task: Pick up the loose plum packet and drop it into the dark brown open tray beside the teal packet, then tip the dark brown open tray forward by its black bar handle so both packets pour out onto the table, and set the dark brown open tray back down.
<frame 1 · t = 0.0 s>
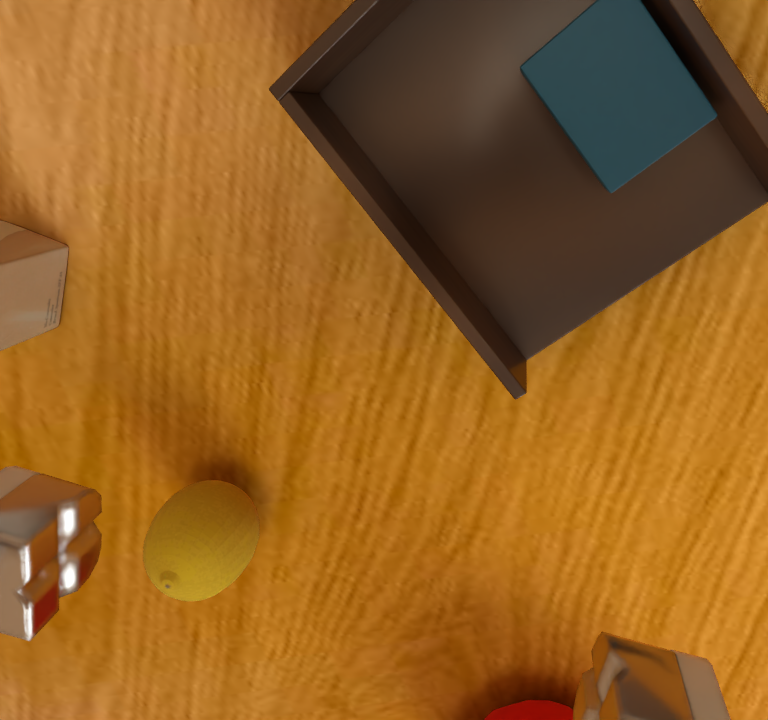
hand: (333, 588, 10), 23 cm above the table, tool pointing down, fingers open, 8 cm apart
lemon: (236, 495, 39), on the table
box: (33, 271, 37), on the table
dark brown open tray: (490, 84, 24), point 4 cm above the table, hinge at 0.0°, touching teal packet
teal packet: (609, 92, 27), point 1 cm above the table, touching dark brown open tray
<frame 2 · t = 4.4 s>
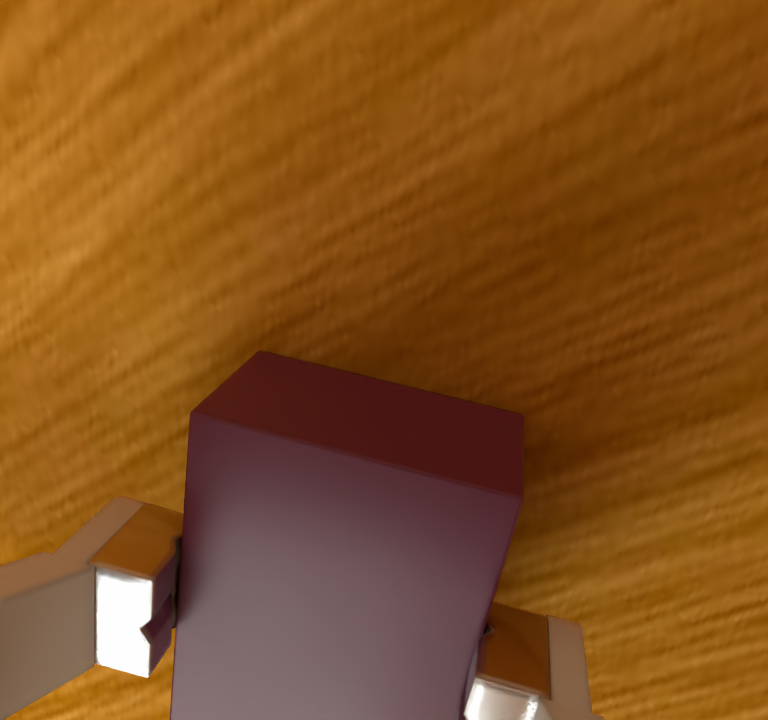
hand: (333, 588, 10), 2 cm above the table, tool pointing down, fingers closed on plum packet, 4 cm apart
plum packet: (359, 529, 12), on the table, touching gripper
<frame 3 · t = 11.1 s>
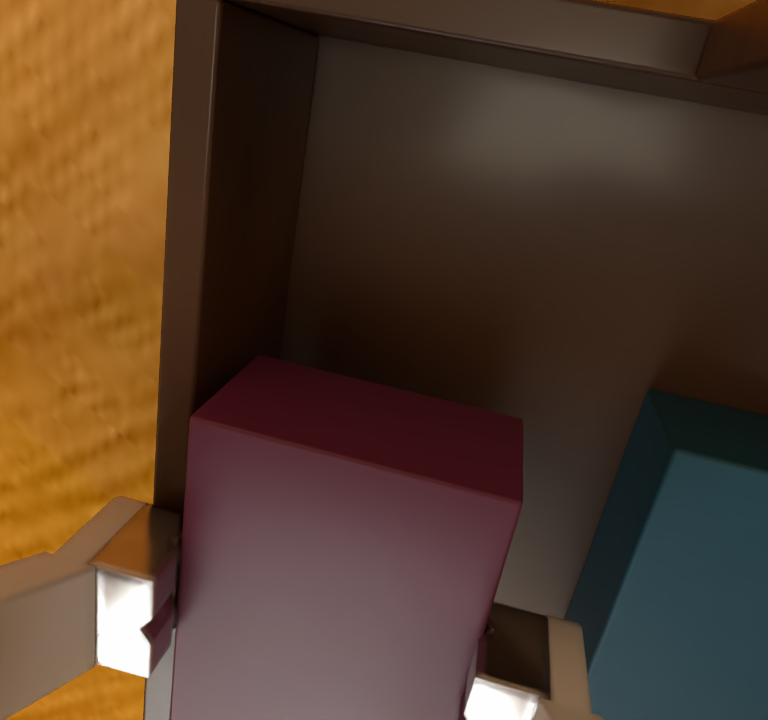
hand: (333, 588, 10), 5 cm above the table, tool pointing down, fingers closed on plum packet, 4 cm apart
plum packet: (359, 533, 12), point 3 cm above the table, touching gripper
dark brown open tray: (608, 445, 9), point 4 cm above the table, hinge at -0.1°, touching gripper, teal packet
teal packet: (712, 546, 13), point 1 cm above the table, touching dark brown open tray
when the fingers open (6 cm above the table, at t = 19.3 s): plum packet drops 3 cm, resting on dark brown open tray.
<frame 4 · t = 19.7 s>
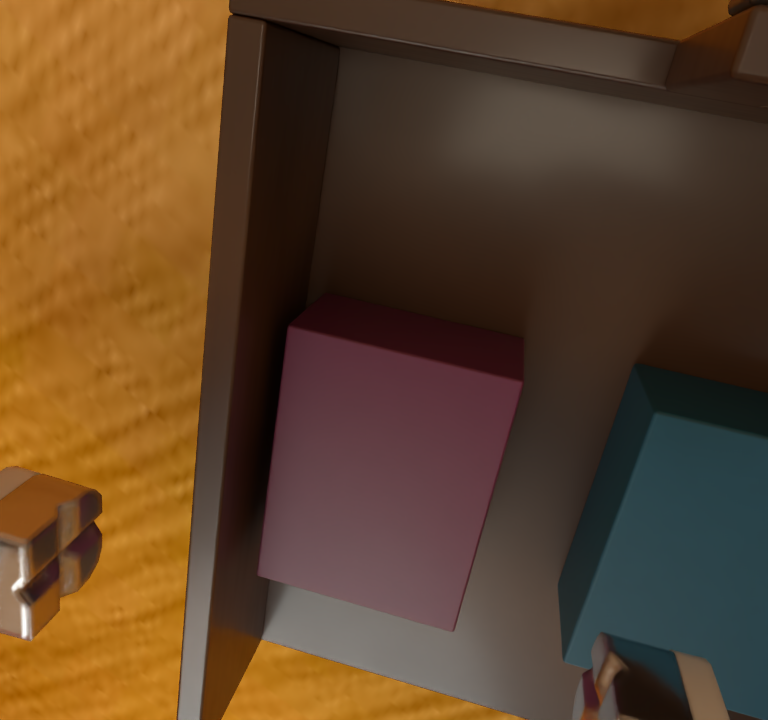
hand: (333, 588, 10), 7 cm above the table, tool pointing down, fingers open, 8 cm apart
plum packet: (398, 433, 15), point 1 cm above the table, touching dark brown open tray
dark brown open tray: (596, 405, 11), point 4 cm above the table, hinge at -0.2°, touching plum packet, teal packet
teal packet: (693, 507, 15), point 1 cm above the table, touching dark brown open tray
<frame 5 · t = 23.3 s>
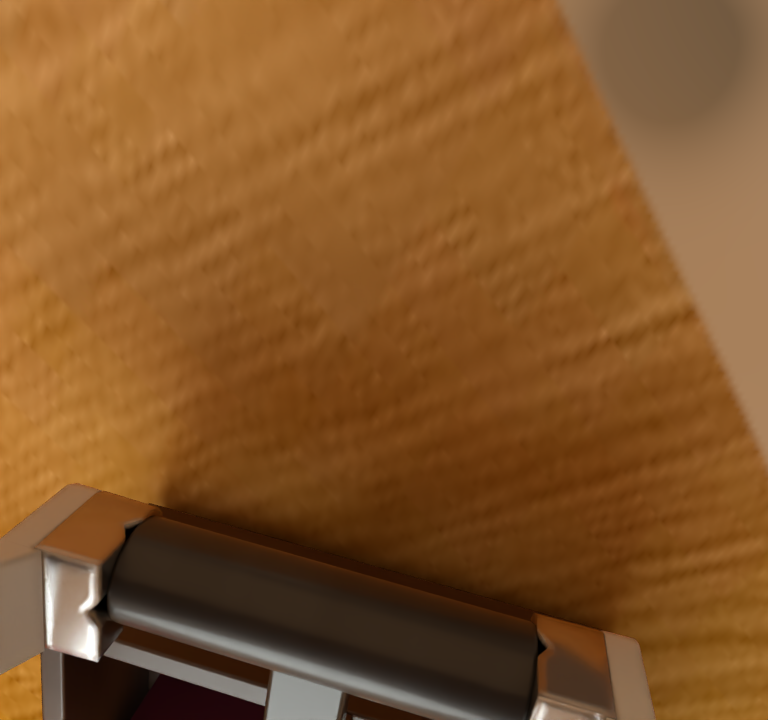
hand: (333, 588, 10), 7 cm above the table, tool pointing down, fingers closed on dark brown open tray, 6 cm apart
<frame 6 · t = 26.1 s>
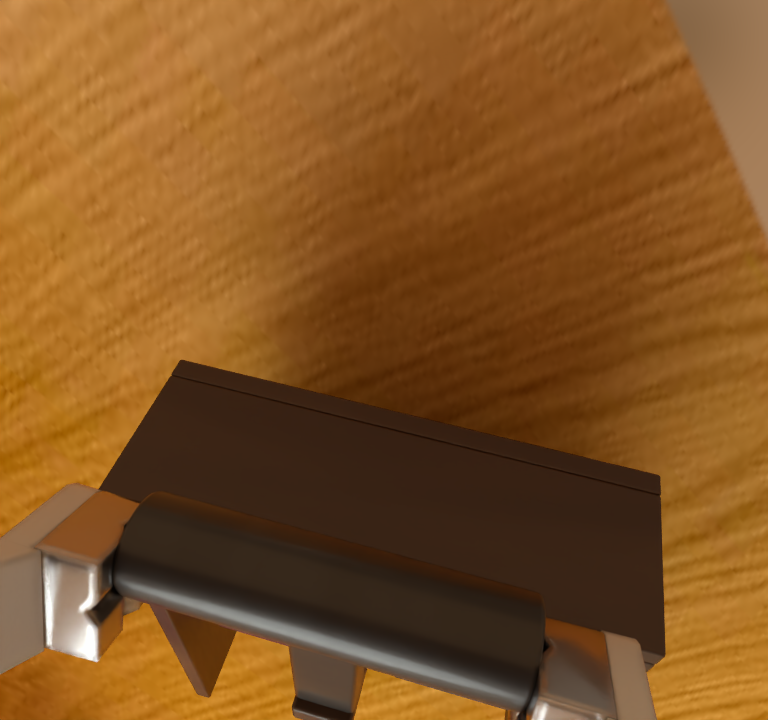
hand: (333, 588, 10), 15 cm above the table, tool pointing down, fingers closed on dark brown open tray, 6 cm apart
dark brown open tray: (362, 629, 19), point 9 cm above the table, hinge at 26.8°, touching gripper, plum packet, teal packet
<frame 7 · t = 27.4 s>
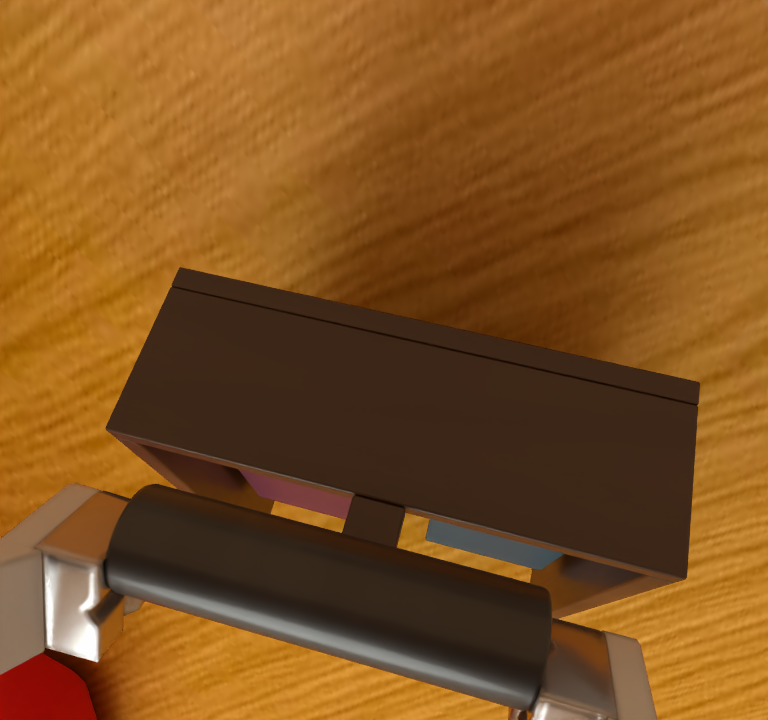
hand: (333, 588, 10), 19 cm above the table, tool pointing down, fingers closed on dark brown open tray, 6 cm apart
plum packet: (323, 427, 24), point 6 cm above the table, tilted 44°, touching dark brown open tray
tomato: (48, 698, 42), on the table
dark brown open tray: (389, 519, 20), point 11 cm above the table, hinge at 43.9°, touching gripper, plum packet, teal packet
teal packet: (505, 472, 23), point 6 cm above the table, tilted 44°, touching dark brown open tray
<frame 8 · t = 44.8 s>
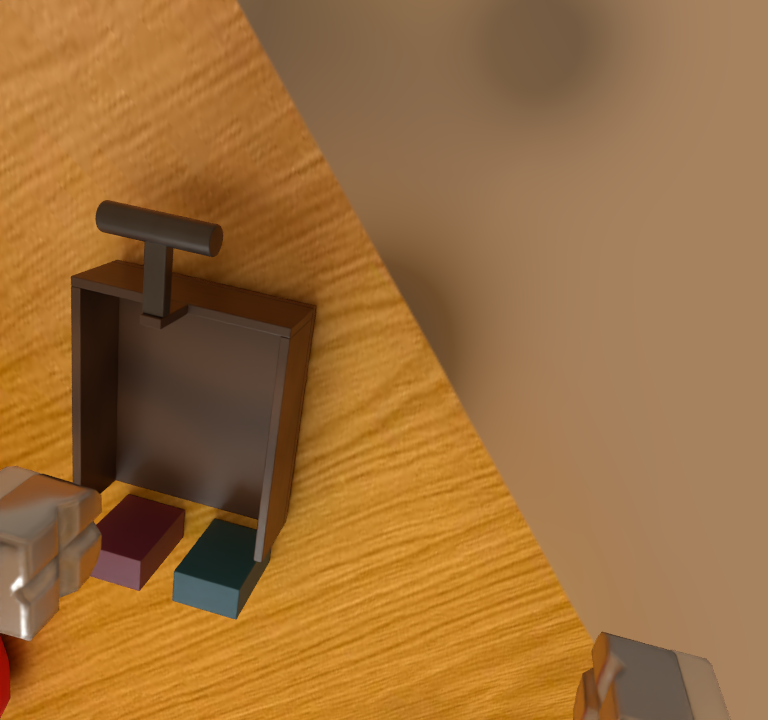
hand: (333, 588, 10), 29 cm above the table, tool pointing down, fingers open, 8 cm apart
plum packet: (134, 525, 45), point 3 cm above the table, tilted 90°
dark brown open tray: (179, 383, 39), point 4 cm above the table, hinge at -0.3°
teal packet: (226, 551, 45), point 3 cm above the table, tilted 90°
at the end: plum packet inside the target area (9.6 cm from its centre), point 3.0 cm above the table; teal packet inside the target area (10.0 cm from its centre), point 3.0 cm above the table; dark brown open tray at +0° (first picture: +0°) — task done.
